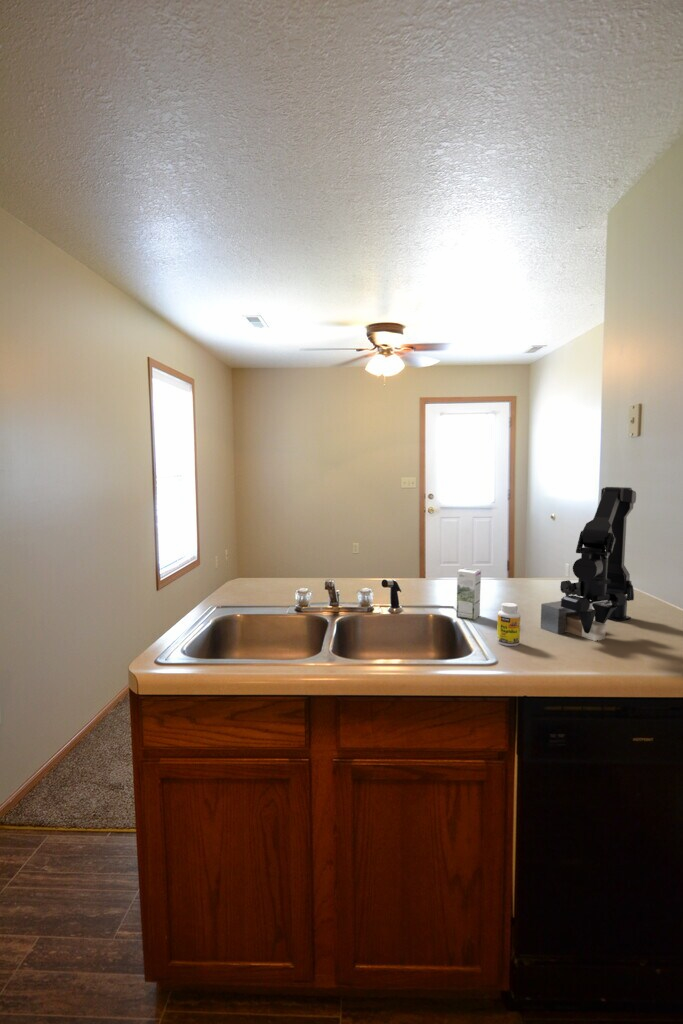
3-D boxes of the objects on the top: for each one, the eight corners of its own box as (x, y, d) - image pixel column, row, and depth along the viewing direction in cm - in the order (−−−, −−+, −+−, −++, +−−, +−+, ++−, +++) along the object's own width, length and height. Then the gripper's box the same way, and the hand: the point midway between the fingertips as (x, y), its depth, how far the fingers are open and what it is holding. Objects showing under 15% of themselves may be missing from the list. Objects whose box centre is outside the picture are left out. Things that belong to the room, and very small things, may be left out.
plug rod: (556, 623, 154) (557, 609, 154) (605, 639, 140) (605, 624, 139) (546, 624, 152) (547, 611, 152) (594, 641, 138) (595, 626, 138)
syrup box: (480, 615, 161) (481, 569, 160) (474, 620, 156) (475, 572, 155) (462, 613, 164) (463, 567, 163) (455, 617, 159) (456, 570, 158)
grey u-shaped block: (570, 622, 154) (571, 599, 154) (587, 628, 149) (588, 604, 149) (540, 628, 149) (541, 603, 149) (557, 634, 144) (558, 608, 143)
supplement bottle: (496, 645, 134) (497, 606, 133) (497, 638, 139) (498, 600, 138) (519, 647, 132) (521, 608, 131) (519, 641, 138) (520, 602, 137)
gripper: (592, 566, 151) (590, 619, 152) (545, 571, 143) (543, 628, 144) (628, 573, 141) (625, 630, 142) (580, 579, 133) (577, 640, 134)
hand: (592, 631), depth 141 cm, fingers closed on plug rod, 4 cm apart
